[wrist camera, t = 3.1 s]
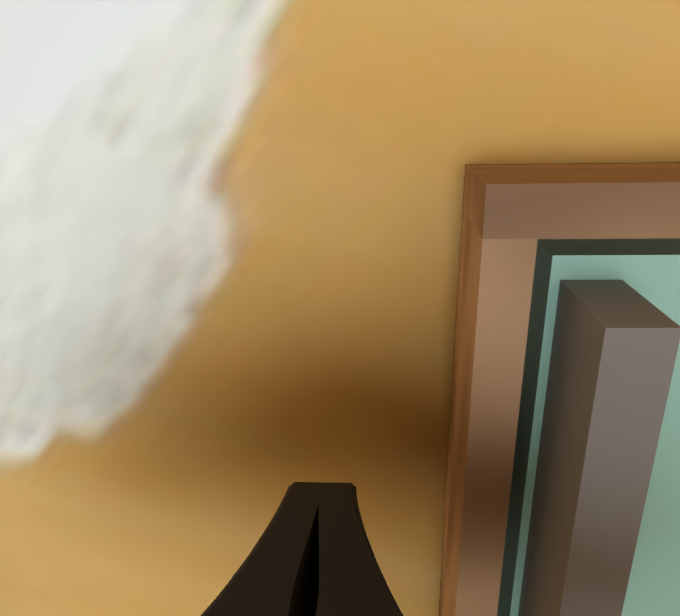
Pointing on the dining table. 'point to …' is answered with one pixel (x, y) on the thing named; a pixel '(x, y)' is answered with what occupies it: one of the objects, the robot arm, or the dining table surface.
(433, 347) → the dining table surface
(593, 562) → the cover plate
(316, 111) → the dining table surface
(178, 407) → the dining table surface
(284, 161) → the dining table surface
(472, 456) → the walnut box
